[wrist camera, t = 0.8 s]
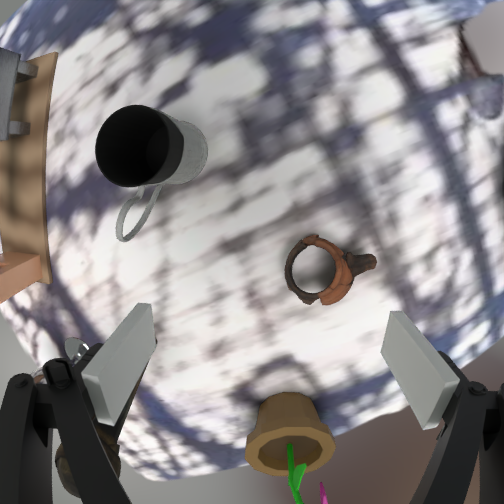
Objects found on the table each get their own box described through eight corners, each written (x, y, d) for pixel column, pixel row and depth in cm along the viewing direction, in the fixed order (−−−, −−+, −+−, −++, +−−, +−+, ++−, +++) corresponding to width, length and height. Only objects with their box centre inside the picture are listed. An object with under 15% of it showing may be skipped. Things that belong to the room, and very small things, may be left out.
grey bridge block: (19, 68, 34) (-21, 57, 23) (39, 61, 34) (-1, 47, 23) (9, 144, 37) (-35, 145, 27) (29, 140, 37) (-16, 140, 27)
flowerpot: (327, 429, 51) (353, 563, 22) (254, 439, 52) (248, 575, 23) (324, 376, 47) (363, 537, 18) (239, 388, 48) (222, 551, 19)
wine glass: (76, 328, 47) (30, 375, 32) (105, 362, 48) (67, 416, 34) (55, 345, 48) (13, 388, 34) (82, 376, 50) (46, 425, 35)
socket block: (7, 251, 42) (-36, 270, 31) (39, 254, 42) (-5, 277, 31) (10, 272, 43) (-31, 294, 32) (42, 277, 43) (0, 303, 32)
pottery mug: (307, 310, 45) (289, 317, 37) (289, 250, 47) (268, 245, 39) (385, 285, 40) (384, 287, 33) (364, 222, 42) (358, 210, 35)
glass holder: (215, 128, 38) (190, 106, 23) (187, 230, 42) (151, 263, 27) (154, 115, 37) (103, 93, 23) (130, 214, 41) (73, 237, 27)
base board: (12, 69, 34) (8, 68, 33) (58, 53, 34) (55, 51, 33) (9, 274, 45) (6, 276, 44) (52, 282, 44) (49, 284, 44)
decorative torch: (159, 315, 45) (65, 470, 16) (182, 350, 47) (120, 513, 18) (127, 330, 46) (30, 468, 17) (150, 362, 48) (78, 508, 19)
